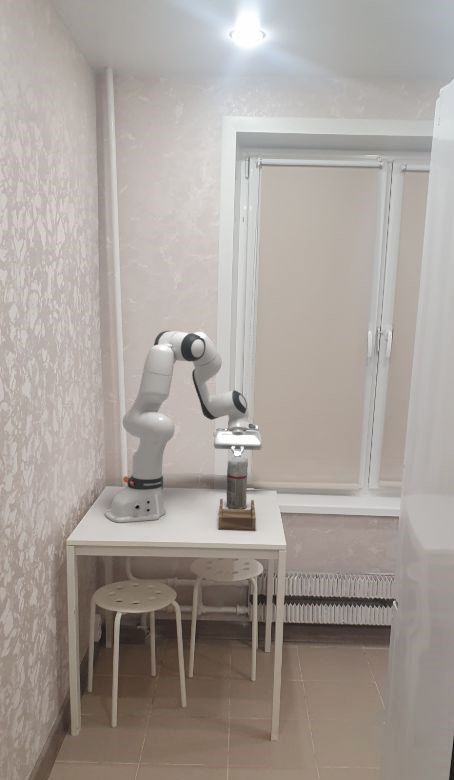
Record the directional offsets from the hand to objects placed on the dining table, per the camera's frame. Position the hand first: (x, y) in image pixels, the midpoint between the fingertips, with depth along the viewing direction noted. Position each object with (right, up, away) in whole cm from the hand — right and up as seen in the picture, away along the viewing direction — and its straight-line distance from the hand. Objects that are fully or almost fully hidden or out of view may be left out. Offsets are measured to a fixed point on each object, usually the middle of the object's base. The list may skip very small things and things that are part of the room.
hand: (237, 456), depth 249 cm
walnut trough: (-1, -20, -26) cm, 33 cm away
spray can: (-1, -19, -10) cm, 21 cm away
